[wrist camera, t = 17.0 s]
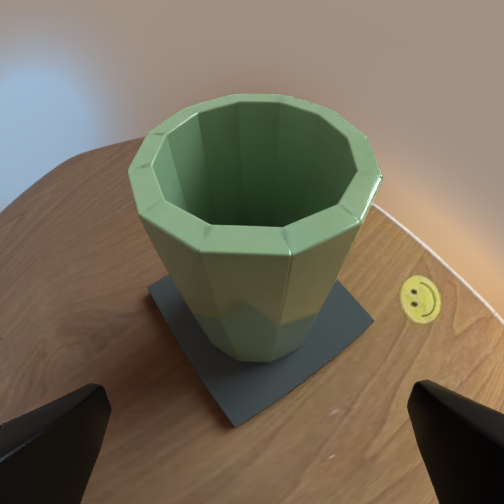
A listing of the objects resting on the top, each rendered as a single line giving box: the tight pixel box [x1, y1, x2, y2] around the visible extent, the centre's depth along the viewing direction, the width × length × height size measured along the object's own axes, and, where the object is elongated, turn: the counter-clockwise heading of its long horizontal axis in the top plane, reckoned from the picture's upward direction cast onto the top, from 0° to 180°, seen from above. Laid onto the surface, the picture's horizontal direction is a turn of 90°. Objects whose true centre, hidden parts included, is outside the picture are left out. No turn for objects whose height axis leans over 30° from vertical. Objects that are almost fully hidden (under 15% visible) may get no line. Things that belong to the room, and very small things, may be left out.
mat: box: [147, 274, 374, 428], centre depth 17 cm, size 10×10×1 cm
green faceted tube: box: [127, 94, 383, 363], centre depth 12 cm, size 7×7×11 cm
